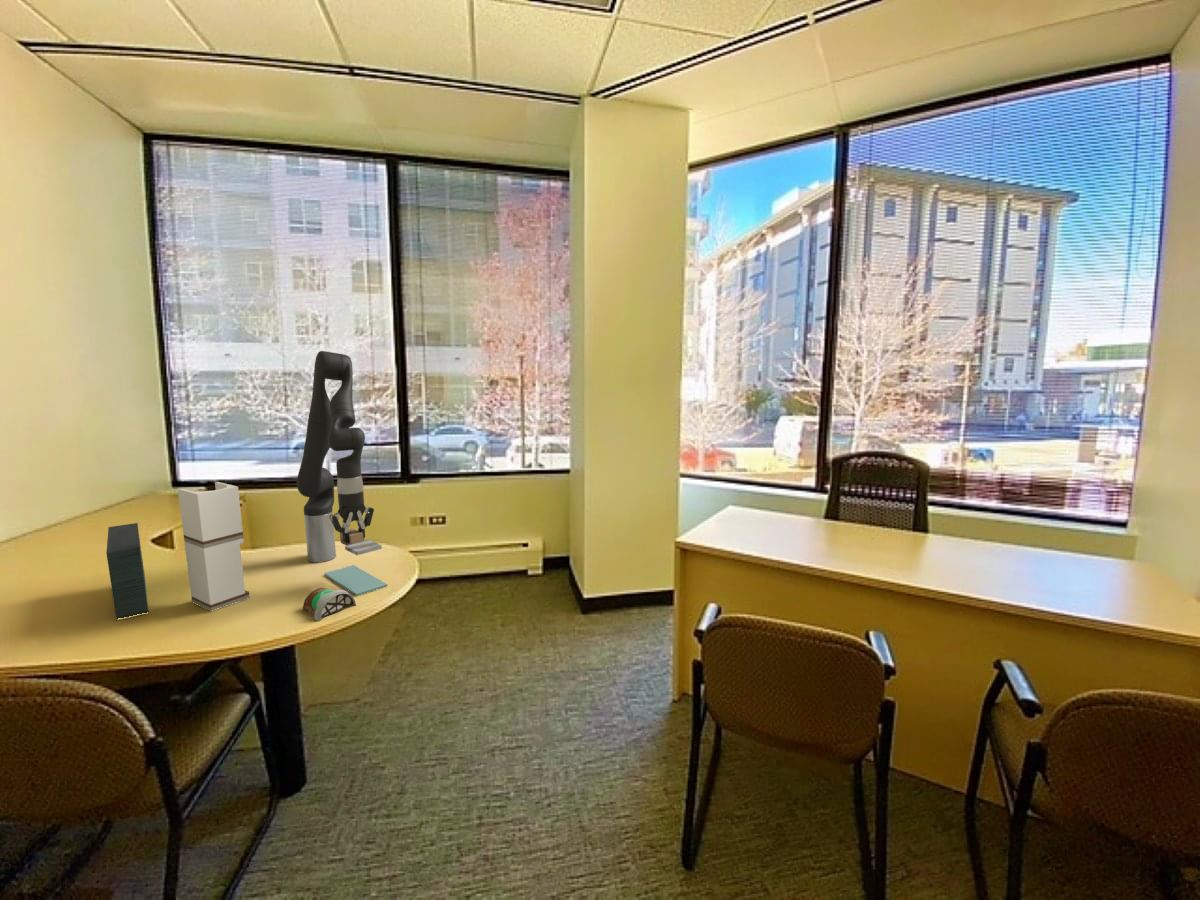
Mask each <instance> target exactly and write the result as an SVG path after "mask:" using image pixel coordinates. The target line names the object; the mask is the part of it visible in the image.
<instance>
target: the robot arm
mask: <svg viewBox="0 0 1200 900" xmlns="http://www.w3.org/2000/svg"><path fill="white" fill-rule="evenodd" d="M313 369H314V370H313V380H312V381H313V383H312V384H313V385H312V394H311V395H312V396H311V401H310V402H311V403H310V408H309V412H308V419H307V425H306V426H307V427H306V434H305V440H304V441H305V442H304V446H303V455H302V459H301V462H300V463H301V464H300V467H299V470H298V475H297V476H296V477H297V478H296V487H297V491H298V492H299V493H300V495H301V496H303V497H307V498H308V500H307V501H306V503H305V504H304V506H303V517H304V527H305V529H304V530H305V531H304V532H305V540H306V552H307V561H308V562H311V563H322V562H328V561H331V560H333V559H335V558H336V557H337V551H336V539H335V531H336V532H338V533H339V534H340V533H341V532H342V534H343V541H344V542H345V543H346V544H350V540H349V532H348V531H349V529H350V526H351V524H352V523H353V522H354V521H355V522H356V524H357V527H358V528H357V531H359V532H362V533H363V540H365V538H366V528H367V527H370V526H371V524H372V519H373V516H374V511H375V509H374V508H373V507H370V506H366V505H365V497H364V496H365V495H364V483H363V482H364V481H363V477H362V465H361V464H362V461H361V460H362V454H363V451H364V450H363V449H364V446H365V442H366V436H365V432H364V431H363V429H361V428H359V427H353V426H354V425H355V423H356V414H355V409H354V401H353V389H354V388H353V387H354V385H353V382H354V381H353V375H354V374H353V362H352V359H351V357H350V356H349V355H347V354H344V353H339V352H334V351H333V352H332V351H331V352H330V351H327V350H325V351H324V350H319V351H318V353H317V355H316V356H315V361H314V368H313ZM326 380H332V381H340V382H341V385H340V387H339V388H338V389H337V391H336V392H335V393H334V395H333V396H332V397H331V399H330V398H329V395H328V393H327V390H326ZM330 449H331V450H333V451H334V452H344V451H352V453H351V454H350V455H347V456H344V457H341V458H339V459H337V460H336V462H335V463H336V466H335V467H336V475H337V477H336V479H337V481H336V489H337V501H338V510H337V512H336V513H333V512H334V511H333V506H334V504H335V484H334V483H335V482H334V477H333V474H332V473H331V471H330V470H329V469H327V468H325V467H324V466H323V465H324V461H325V459H326V456H327V454H328V452H329V450H330ZM364 513H365V515H364ZM363 515H364V519H363ZM340 518H341V519H342V521H341V524H340Z"/></svg>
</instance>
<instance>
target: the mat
mask: <svg viewBox="0 0 1200 900" xmlns="http://www.w3.org/2000/svg"><path fill="white" fill-rule="evenodd" d="M324 576H325V577H326V576H327V577H326V578H327V579H329V578H330V579H329V580H331V581H332V580H333V581H332V582H334V581H335V582H336V583H335V582H334V583H335V584H337V583H338V584H339V585H338V584H337V585H338V586H340V585H341V586H342V587H341V586H340V587H341V588H343V587H344V588H343V589H345V588H346V589H347V590H346V589H345V590H346V591H348V590H349V591H350V592H349V591H348V592H349V593H351V592H352V593H353V594H352V593H351V594H352V595H354V594H355V595H356V597H359V596H358V595H360V596H362V595H361V594H363V595H365V594H364V593H366V594H368V593H367V592H369V593H371V592H370V591H372V592H374V591H373V590H375V591H377V590H376V589H379V590H381V589H380V588H382V589H384V588H383V587H385V588H387V587H388V584H387V583H386V582H384V581H382V580H380V579H378V578H377V577H375V576H374V575H372V574H370V573H369V572H367V571H365V570H364V569H361V568H360V567H358V566H357V565H355V564H353V565H349V566H345V567H341V568H338V569H334V570H331V571H328V572H325V573H324ZM386 586H387V587H386ZM355 595H354V596H355Z"/></svg>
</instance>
